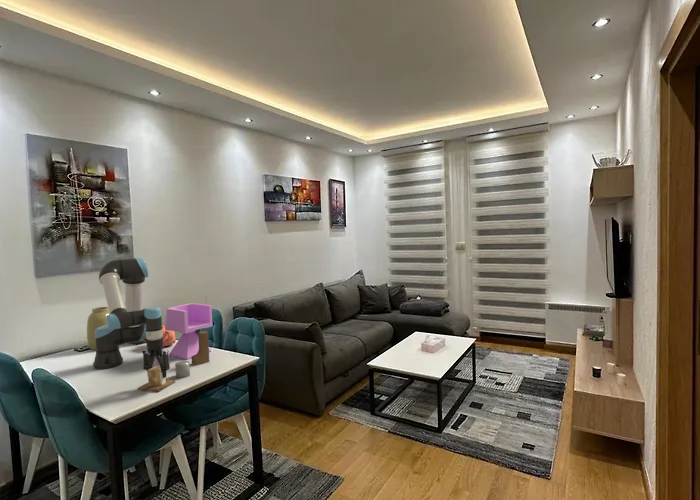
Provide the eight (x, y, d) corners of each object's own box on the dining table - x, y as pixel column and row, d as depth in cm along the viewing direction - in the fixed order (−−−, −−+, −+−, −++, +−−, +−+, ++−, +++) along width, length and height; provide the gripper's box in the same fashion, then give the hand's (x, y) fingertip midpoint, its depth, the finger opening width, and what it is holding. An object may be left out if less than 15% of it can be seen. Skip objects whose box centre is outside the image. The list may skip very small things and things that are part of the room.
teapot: (144, 346, 269) (143, 325, 268) (162, 341, 279) (160, 321, 278) (162, 351, 257) (161, 329, 256) (180, 345, 267) (179, 325, 266)
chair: (186, 360, 236) (184, 311, 235) (166, 355, 247) (164, 308, 245) (213, 351, 253) (211, 305, 251) (194, 347, 264) (191, 302, 262)
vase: (107, 351, 259) (105, 310, 257) (81, 351, 259) (79, 311, 258) (122, 343, 276) (120, 305, 275) (98, 343, 276) (96, 305, 275)
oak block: (148, 385, 197) (147, 370, 196) (155, 381, 202) (155, 366, 201) (157, 386, 196) (156, 370, 195) (164, 382, 200) (163, 367, 200)
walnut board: (137, 390, 194) (137, 387, 194) (155, 380, 206) (155, 378, 206) (158, 392, 191) (158, 389, 191) (174, 382, 203) (174, 380, 203)
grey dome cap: (173, 377, 210) (172, 365, 209) (181, 373, 217) (180, 360, 216) (184, 378, 208) (183, 365, 208) (192, 373, 215) (192, 361, 214)
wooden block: (194, 365, 228) (192, 335, 227) (191, 363, 231) (190, 333, 230) (209, 361, 234) (208, 332, 233) (206, 360, 237) (205, 330, 236)
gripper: (132, 339, 196) (135, 385, 197) (165, 341, 191) (168, 387, 193) (144, 335, 203) (147, 379, 204) (176, 336, 199) (178, 381, 200)
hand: (157, 383), depth 198 cm, fingers open, 6 cm apart
